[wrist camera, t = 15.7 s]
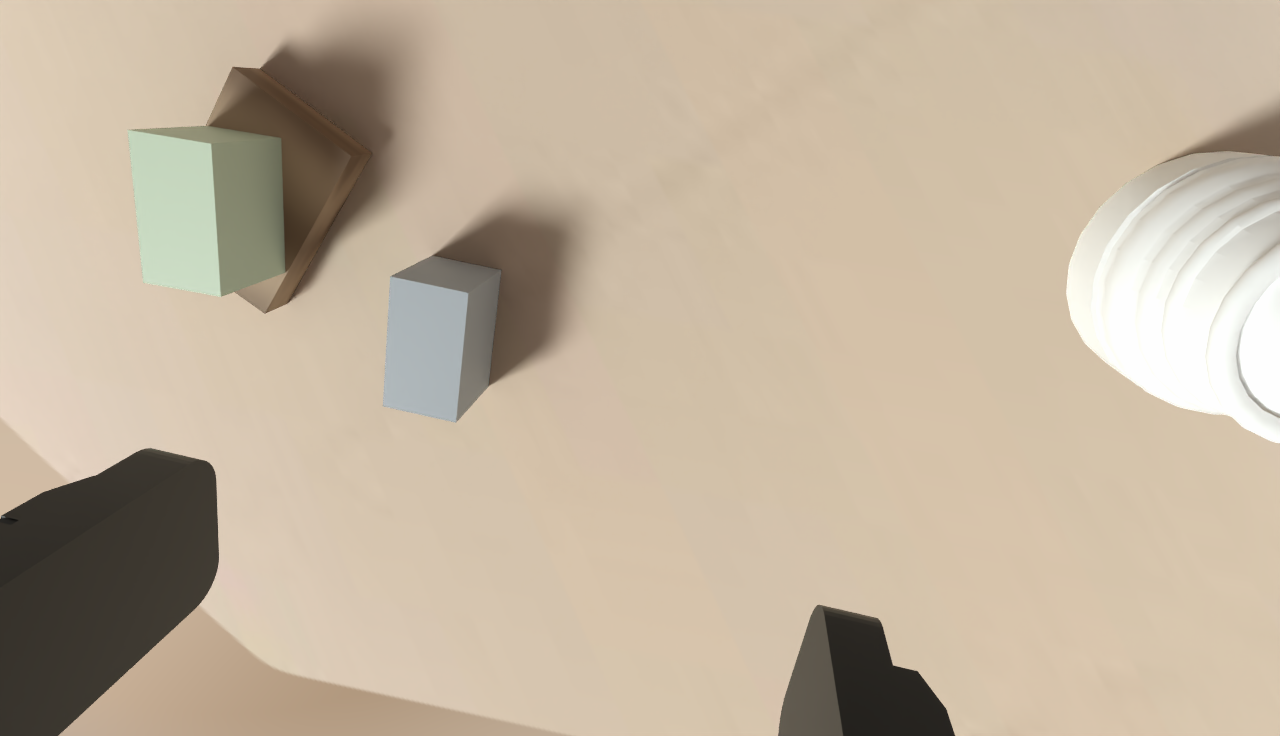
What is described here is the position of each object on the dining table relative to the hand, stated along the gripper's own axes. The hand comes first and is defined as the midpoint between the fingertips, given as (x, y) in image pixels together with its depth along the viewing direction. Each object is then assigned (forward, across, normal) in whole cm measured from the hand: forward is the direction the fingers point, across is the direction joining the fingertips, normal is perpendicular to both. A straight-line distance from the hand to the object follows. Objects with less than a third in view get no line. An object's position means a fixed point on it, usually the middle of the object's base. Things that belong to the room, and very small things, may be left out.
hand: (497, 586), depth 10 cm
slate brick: (+36, +13, +10) cm, 40 cm away
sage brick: (+34, +26, +4) cm, 43 cm away
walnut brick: (+37, +26, +4) cm, 45 cm away
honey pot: (+36, -28, -2) cm, 46 cm away
